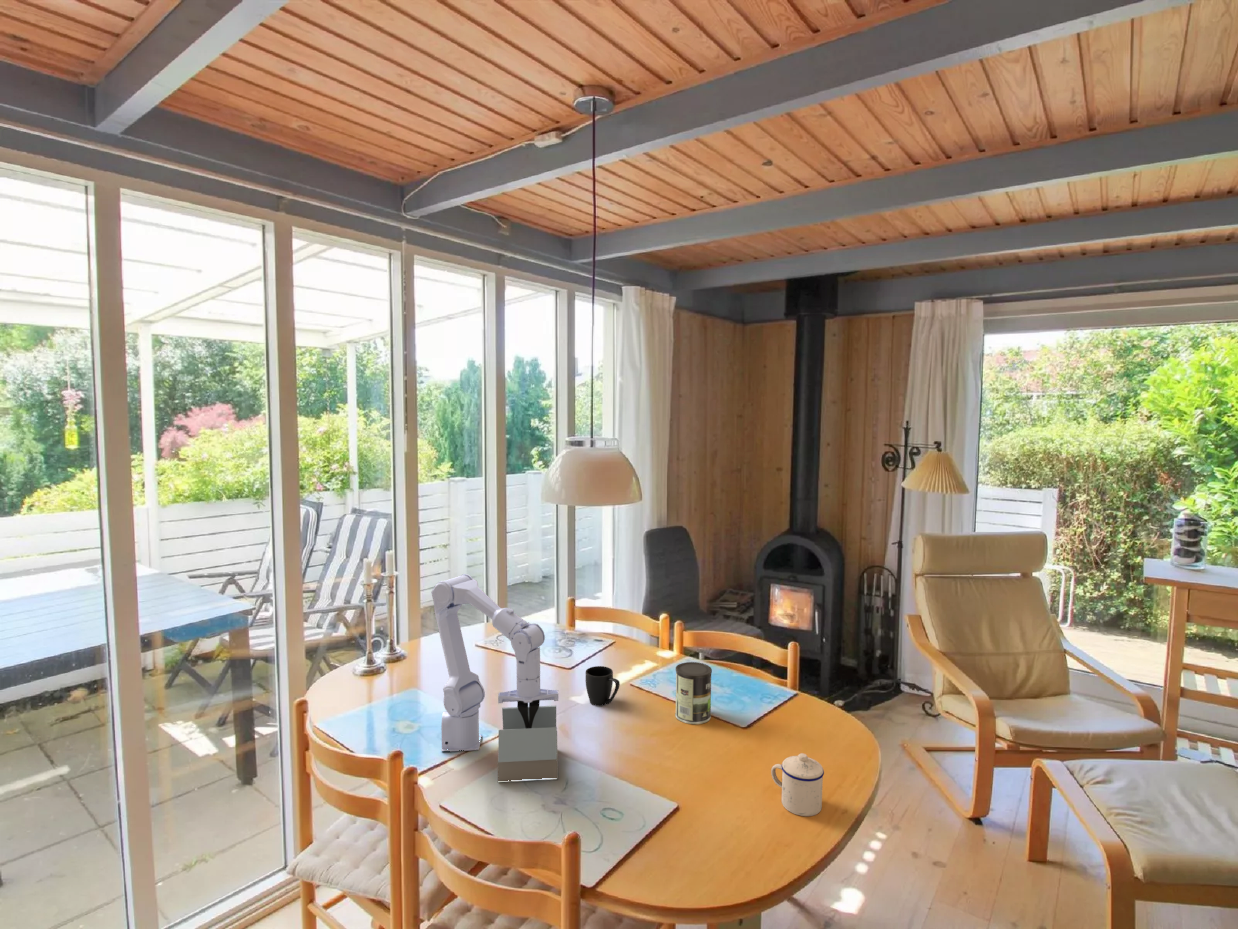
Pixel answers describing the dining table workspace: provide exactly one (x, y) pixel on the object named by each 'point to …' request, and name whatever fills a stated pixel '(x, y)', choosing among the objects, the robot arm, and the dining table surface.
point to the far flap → (541, 720)
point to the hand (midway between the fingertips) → (528, 729)
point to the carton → (527, 769)
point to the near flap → (527, 744)
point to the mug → (600, 685)
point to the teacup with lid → (800, 784)
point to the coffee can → (693, 692)
